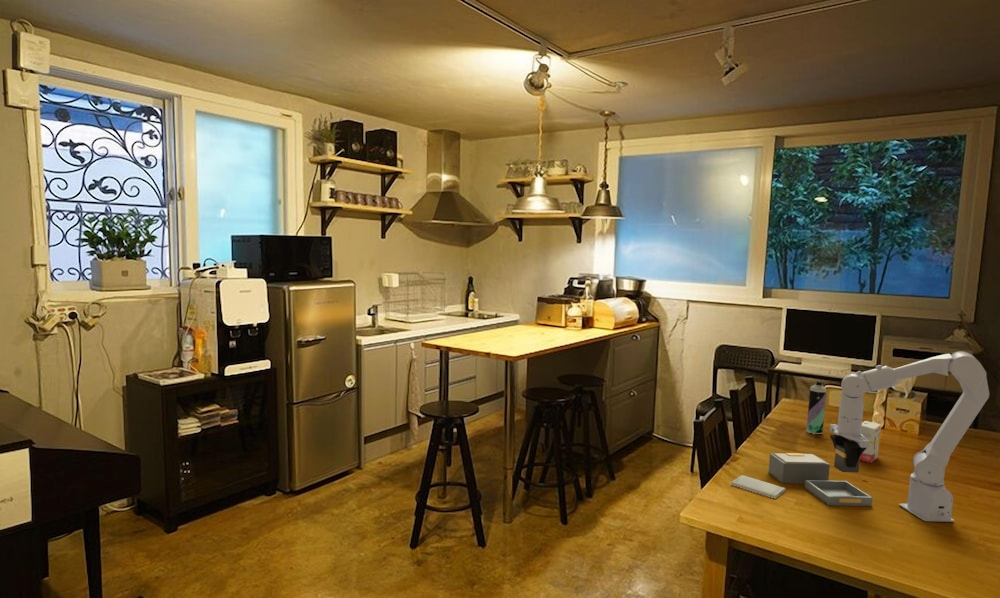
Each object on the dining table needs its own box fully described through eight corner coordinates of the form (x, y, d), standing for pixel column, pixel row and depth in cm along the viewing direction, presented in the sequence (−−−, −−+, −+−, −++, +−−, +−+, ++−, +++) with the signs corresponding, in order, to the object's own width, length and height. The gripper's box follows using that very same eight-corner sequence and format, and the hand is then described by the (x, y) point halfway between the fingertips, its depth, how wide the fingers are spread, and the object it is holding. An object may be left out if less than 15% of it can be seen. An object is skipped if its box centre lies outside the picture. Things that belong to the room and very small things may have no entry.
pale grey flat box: (828, 483, 171) (829, 462, 170) (782, 482, 170) (783, 461, 170) (812, 472, 179) (813, 452, 178) (768, 472, 178) (769, 451, 178)
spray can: (803, 430, 222) (807, 380, 220) (814, 429, 224) (818, 379, 222) (814, 435, 217) (819, 383, 215) (826, 434, 219) (830, 382, 217)
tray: (871, 506, 156) (872, 497, 156) (828, 505, 156) (828, 496, 156) (845, 488, 168) (846, 480, 167) (804, 488, 167) (805, 480, 167)
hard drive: (731, 481, 167) (775, 495, 159) (742, 474, 173) (786, 487, 164) (730, 487, 167) (775, 501, 159) (742, 479, 173) (785, 492, 165)
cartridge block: (858, 472, 161) (860, 450, 160) (842, 472, 161) (844, 449, 160) (849, 467, 165) (851, 445, 164) (833, 466, 165) (835, 444, 164)
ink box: (871, 463, 189) (875, 428, 188) (854, 459, 192) (857, 425, 191) (878, 457, 195) (881, 423, 194) (861, 453, 198) (865, 420, 197)
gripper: (821, 409, 169) (817, 454, 170) (852, 424, 154) (848, 473, 155) (844, 410, 169) (840, 454, 170) (878, 425, 154) (873, 474, 156)
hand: (846, 463), depth 163 cm, fingers closed on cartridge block, 4 cm apart
